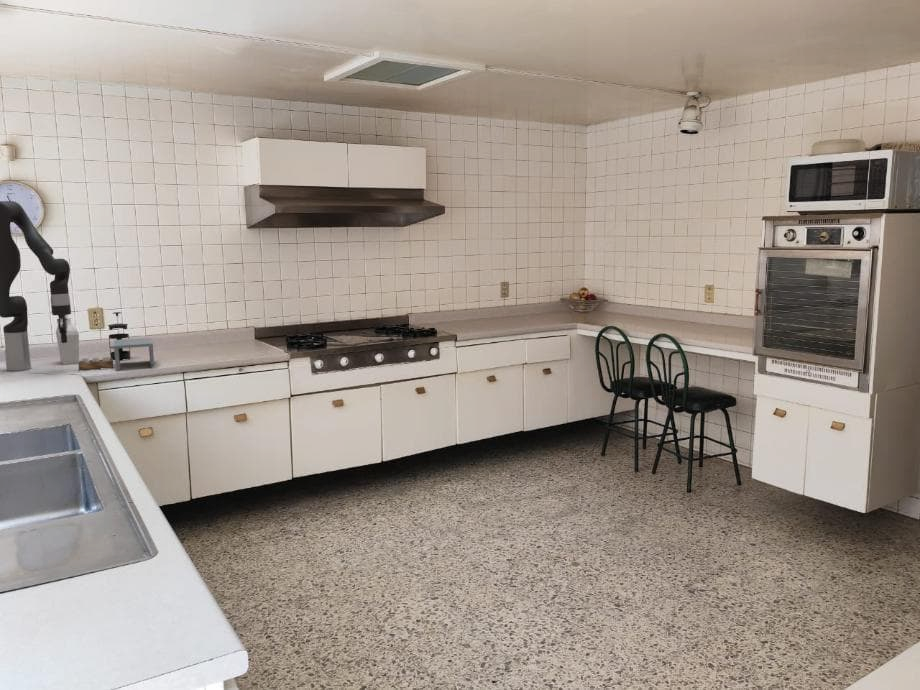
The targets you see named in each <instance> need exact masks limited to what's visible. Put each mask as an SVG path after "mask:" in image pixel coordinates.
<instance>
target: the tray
mask: <svg viewBox="0 0 920 690" xmlns="http://www.w3.org/2000/svg"><path fill="white" fill-rule="evenodd" d="M77 364H78V371H79V370H85V371H91V370H90V369H98V370H102V369H101V368H111V369H114V367H113V366H114V361H113V359H110V356H102V359H100V357H92V358H91V359H90V358H89V357H88V358H87V357H86V358H81V360H79V363H77Z"/></svg>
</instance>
